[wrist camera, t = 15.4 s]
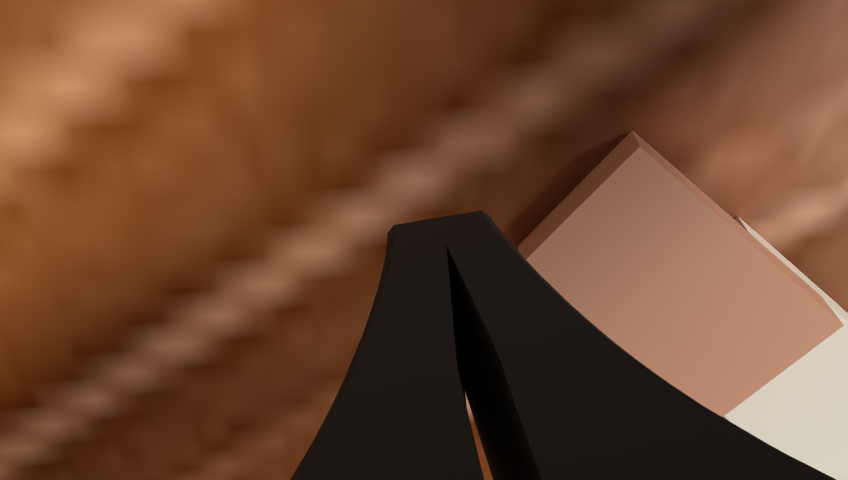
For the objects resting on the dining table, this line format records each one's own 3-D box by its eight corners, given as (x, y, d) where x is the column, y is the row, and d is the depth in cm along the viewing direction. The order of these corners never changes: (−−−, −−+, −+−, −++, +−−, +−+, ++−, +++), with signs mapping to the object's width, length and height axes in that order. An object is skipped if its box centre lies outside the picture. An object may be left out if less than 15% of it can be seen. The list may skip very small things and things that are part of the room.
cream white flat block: (631, 340, 24) (799, 478, 25) (752, 237, 22) (928, 392, 23) (625, 314, 26) (783, 444, 27) (737, 215, 24) (902, 361, 25)
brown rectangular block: (516, 269, 22) (709, 427, 23) (639, 146, 20) (844, 325, 21) (518, 245, 23) (698, 394, 25) (632, 129, 22) (822, 296, 23)
